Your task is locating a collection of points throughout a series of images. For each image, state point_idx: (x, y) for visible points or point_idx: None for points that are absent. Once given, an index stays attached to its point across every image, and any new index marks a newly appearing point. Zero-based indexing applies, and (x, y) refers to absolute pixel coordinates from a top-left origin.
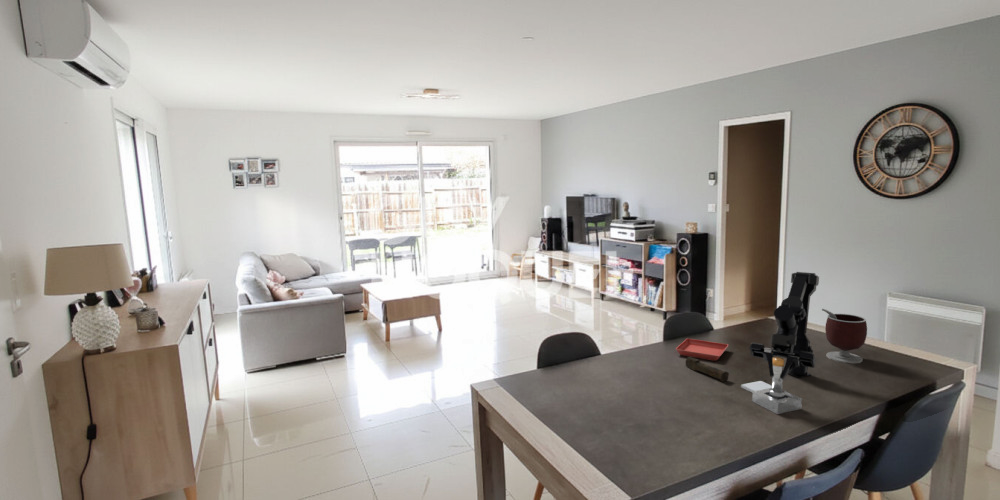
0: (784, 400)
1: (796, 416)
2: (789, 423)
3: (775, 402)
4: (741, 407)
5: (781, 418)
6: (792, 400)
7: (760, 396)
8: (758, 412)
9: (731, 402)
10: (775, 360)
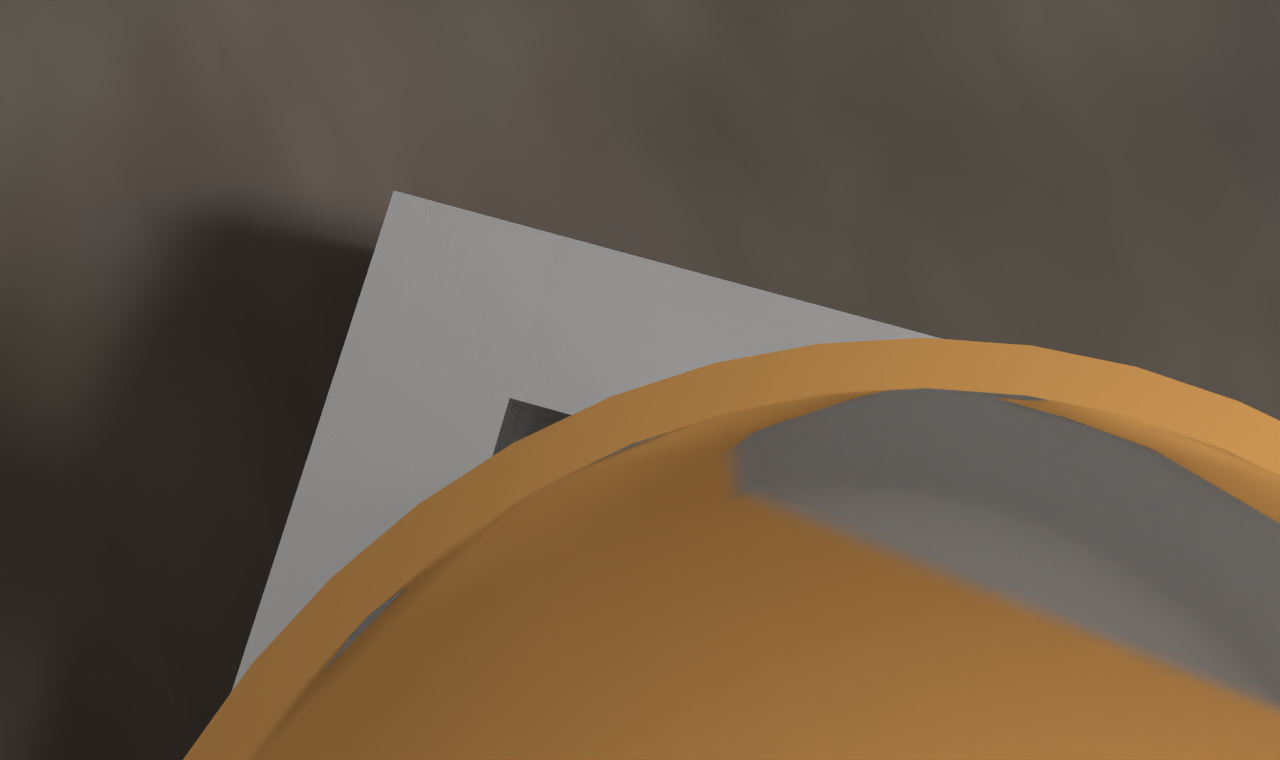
0: (377, 496)
1: (151, 461)
2: (119, 74)
3: (463, 212)
4: (1010, 18)
5: (304, 154)
6: (244, 657)
7: (894, 333)
8: (699, 64)
9: (1256, 72)
10: (925, 345)
